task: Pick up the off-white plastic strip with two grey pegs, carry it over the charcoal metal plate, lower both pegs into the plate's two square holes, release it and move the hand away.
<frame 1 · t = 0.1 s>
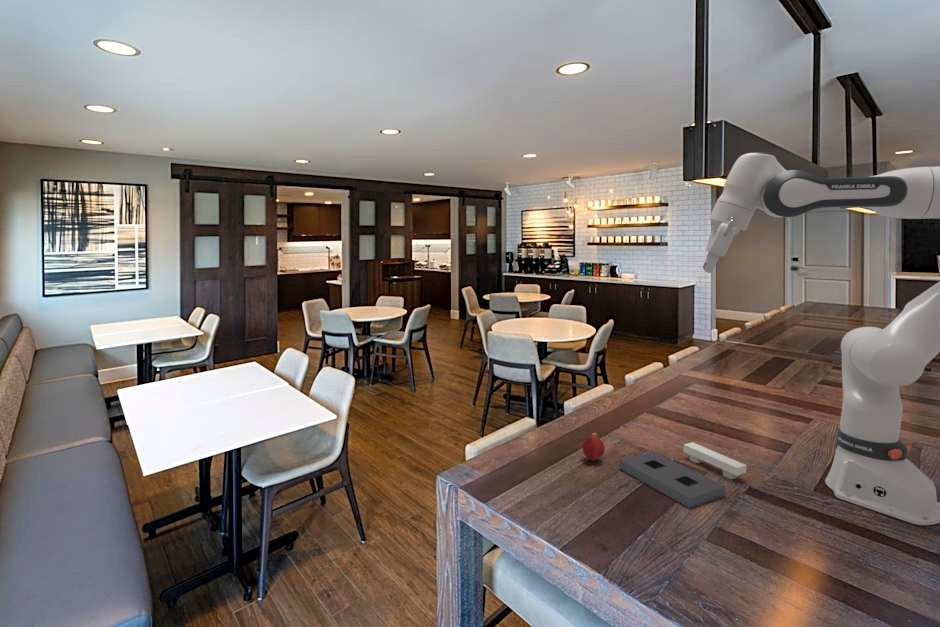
hand: (706, 270, 128), 52 cm above the table, tool tilted 20°, fingers open, 8 cm apart
onion: (592, 461, 137), on the table
plate: (669, 481, 125), on the table
strip: (712, 468, 133), on the table
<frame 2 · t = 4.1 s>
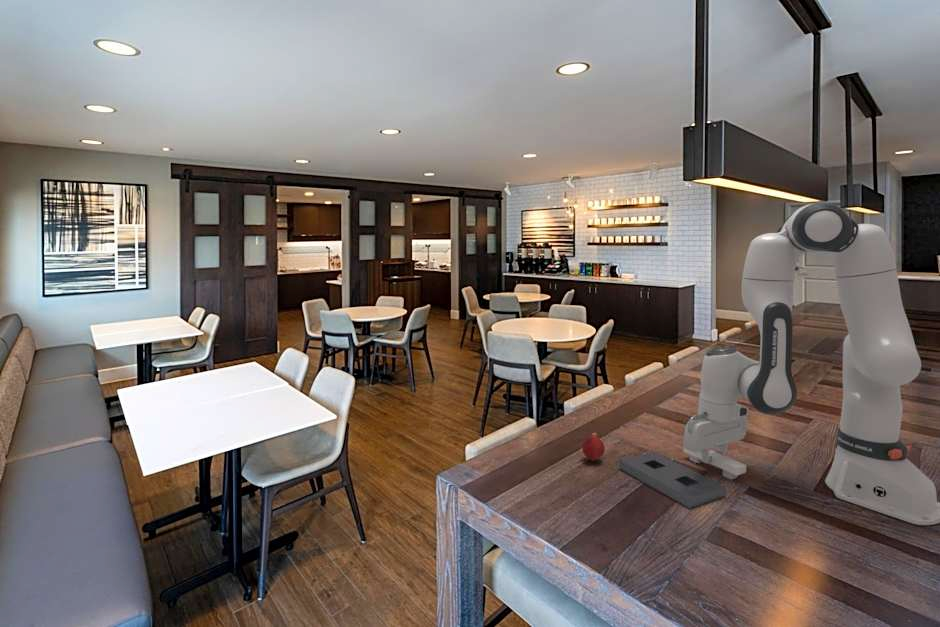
hand: (713, 460, 132), 2 cm above the table, tool pointing down, fingers closed on strip, 3 cm apart
strip: (712, 468, 133), on the table, touching gripper
everything else where it was.
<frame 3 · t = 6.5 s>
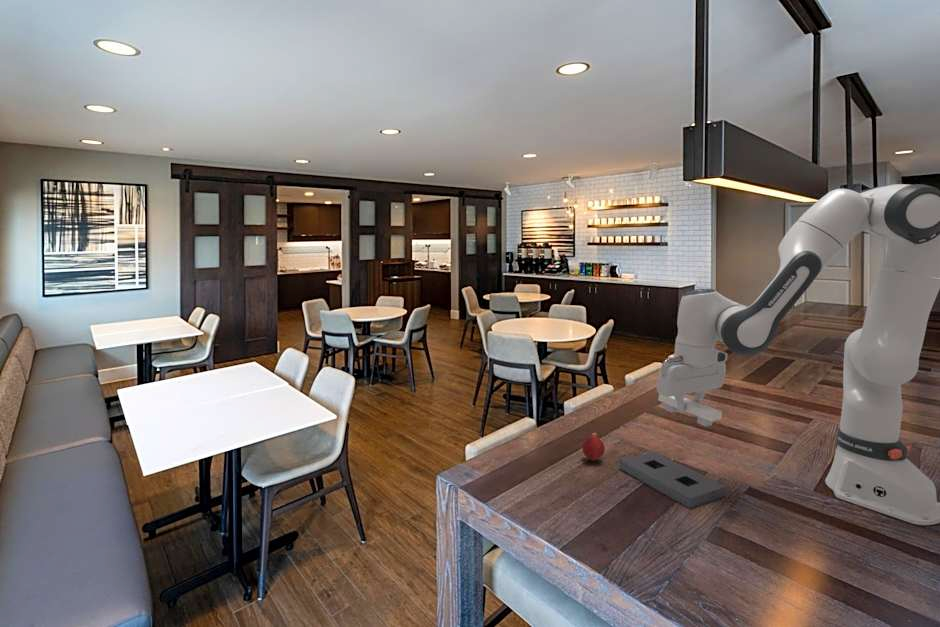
hand: (688, 408, 126), 18 cm above the table, tool pointing down, fingers closed on strip, 3 cm apart
strip: (687, 417, 126), point 16 cm above the table, touching gripper
everything else where it was.
when the fingers open (3 cm above the table, at t = 9.2 s): strip stays where it is, resting on plate.
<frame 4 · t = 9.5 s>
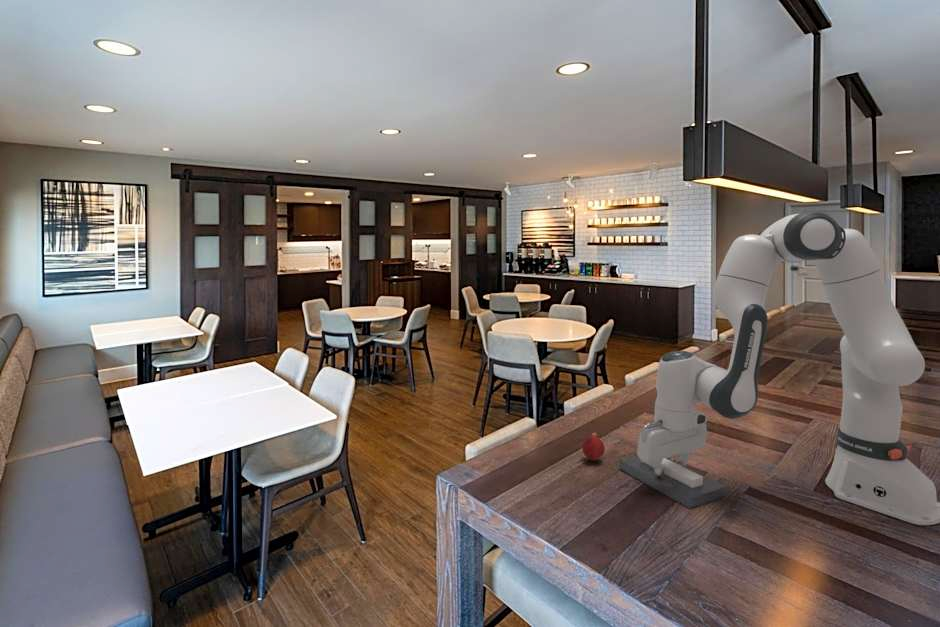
hand: (670, 470, 125), 3 cm above the table, tool pointing down, fingers open, 6 cm apart
strip: (669, 479, 126), resting on plate
everything else where it was.
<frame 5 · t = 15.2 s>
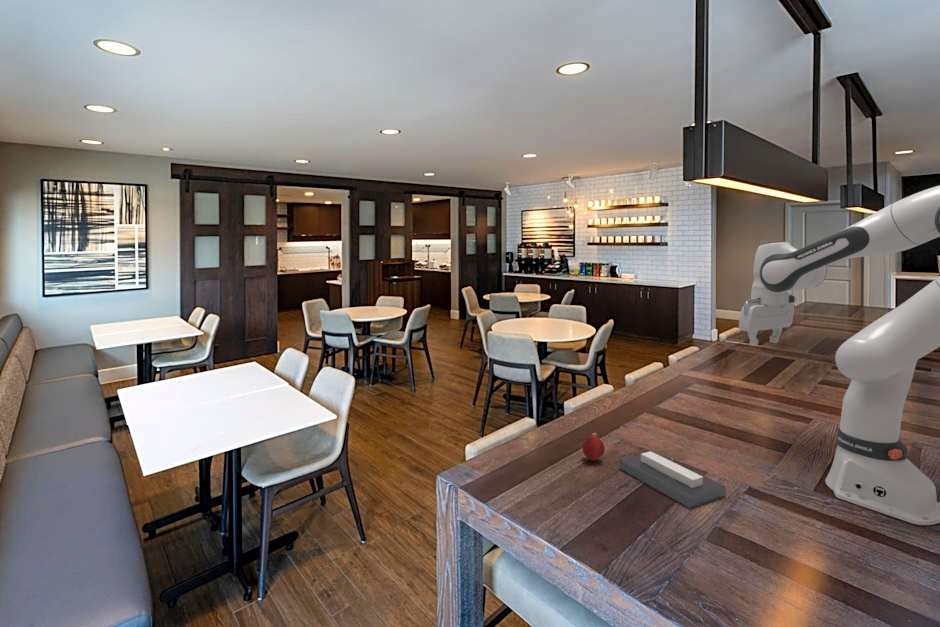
hand: (763, 343, 149), 29 cm above the table, tool pointing down, fingers open, 8 cm apart
nothing on the table moved.
at the end: strip 0.1 cm off-centre on the plate, point 0.5 cm above the plate's base; strip tilted 0°; the gripper is holding nothing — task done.
